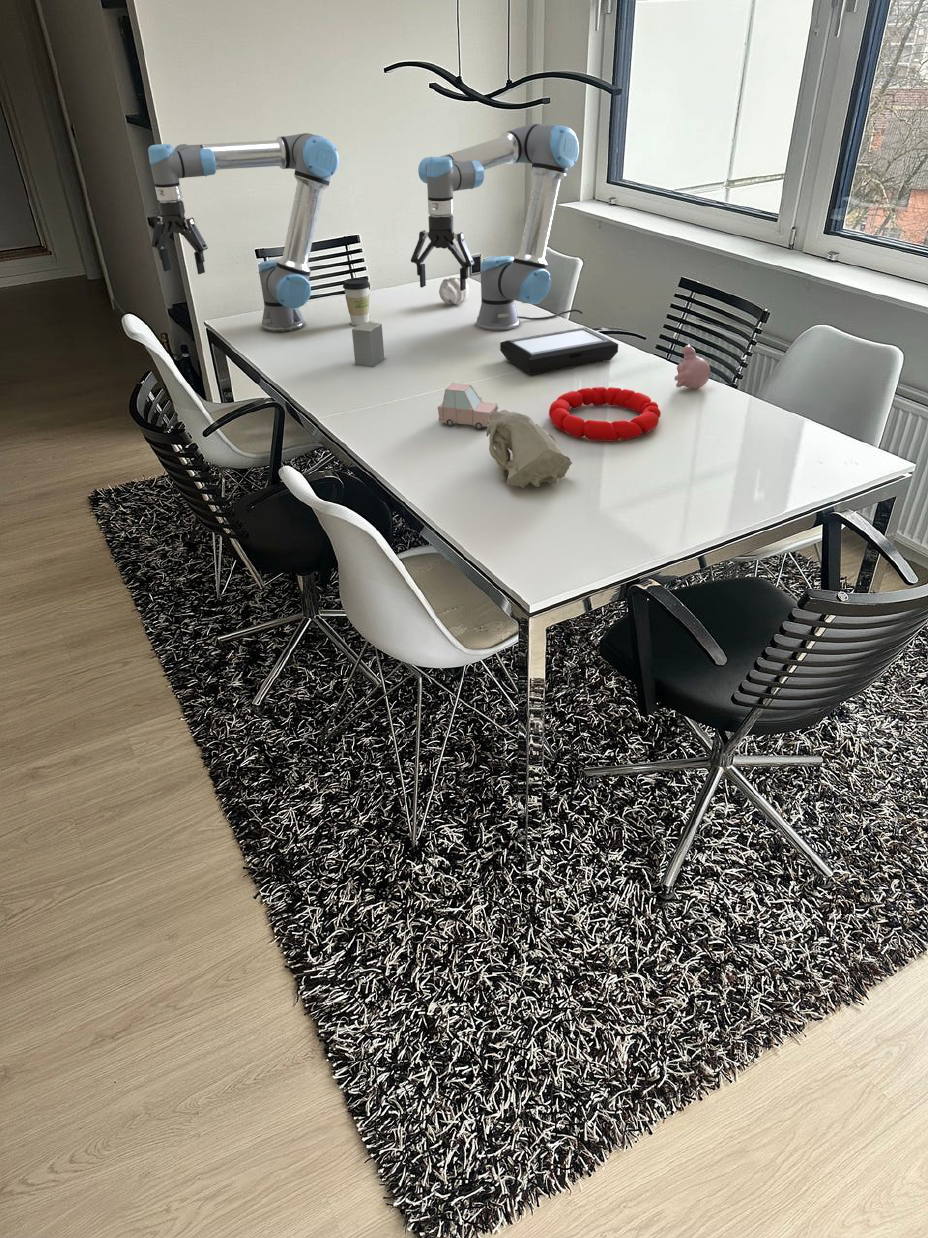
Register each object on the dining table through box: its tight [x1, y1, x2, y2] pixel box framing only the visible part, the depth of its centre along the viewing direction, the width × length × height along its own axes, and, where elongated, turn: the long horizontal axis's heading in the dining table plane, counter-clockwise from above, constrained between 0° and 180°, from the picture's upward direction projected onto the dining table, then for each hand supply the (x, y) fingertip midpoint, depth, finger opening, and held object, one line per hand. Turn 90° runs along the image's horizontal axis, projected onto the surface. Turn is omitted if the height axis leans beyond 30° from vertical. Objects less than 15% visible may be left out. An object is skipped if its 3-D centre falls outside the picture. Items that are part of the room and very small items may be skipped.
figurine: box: [674, 344, 711, 390], centre depth 259 cm, size 9×11×12 cm
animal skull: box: [485, 409, 573, 489], centre depth 216 cm, size 17×25×20 cm
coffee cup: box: [342, 277, 371, 327], centre depth 323 cm, size 10×10×15 cm
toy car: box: [437, 382, 499, 431], centre depth 243 cm, size 9×15×10 cm, turn 70°
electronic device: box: [499, 326, 619, 376], centre depth 285 cm, size 32×6×20 cm
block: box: [351, 321, 385, 368], centre depth 288 cm, size 6×8×12 cm
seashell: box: [438, 277, 470, 305], centre depth 341 cm, size 10×15×10 cm
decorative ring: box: [548, 386, 661, 442], centre depth 242 cm, size 7×30×30 cm
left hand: (184, 271), depth 290 cm, fingers open, 13 cm apart
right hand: (442, 288), depth 280 cm, fingers open, 13 cm apart
